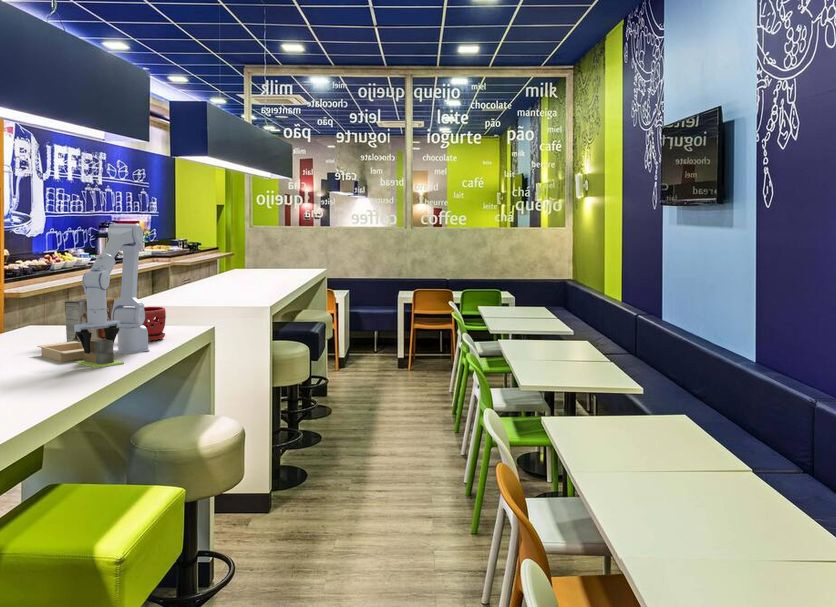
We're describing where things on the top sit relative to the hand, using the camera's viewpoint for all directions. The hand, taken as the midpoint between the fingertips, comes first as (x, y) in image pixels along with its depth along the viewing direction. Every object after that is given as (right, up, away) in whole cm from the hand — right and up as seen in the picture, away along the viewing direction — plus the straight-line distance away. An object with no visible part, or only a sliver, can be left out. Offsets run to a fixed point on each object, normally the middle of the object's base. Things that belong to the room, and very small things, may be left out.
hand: (98, 351), depth 235 cm
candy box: (-19, +2, +48) cm, 51 cm away
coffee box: (-21, 0, +35) cm, 41 cm away
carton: (-13, -3, +10) cm, 17 cm away
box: (0, -3, 0) cm, 3 cm away
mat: (0, -4, 0) cm, 4 cm away
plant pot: (-1, +1, +46) cm, 46 cm away
